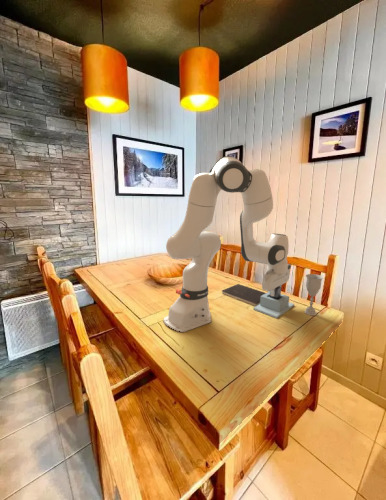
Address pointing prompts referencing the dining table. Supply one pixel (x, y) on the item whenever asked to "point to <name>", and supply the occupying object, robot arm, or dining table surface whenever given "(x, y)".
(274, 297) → the bracket
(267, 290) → the robot arm
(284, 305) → the grey socket base
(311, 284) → the chalice
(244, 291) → the hardcover book
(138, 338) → the dining table surface
